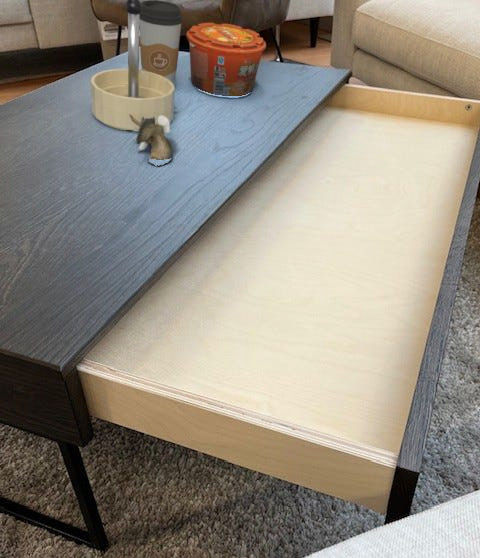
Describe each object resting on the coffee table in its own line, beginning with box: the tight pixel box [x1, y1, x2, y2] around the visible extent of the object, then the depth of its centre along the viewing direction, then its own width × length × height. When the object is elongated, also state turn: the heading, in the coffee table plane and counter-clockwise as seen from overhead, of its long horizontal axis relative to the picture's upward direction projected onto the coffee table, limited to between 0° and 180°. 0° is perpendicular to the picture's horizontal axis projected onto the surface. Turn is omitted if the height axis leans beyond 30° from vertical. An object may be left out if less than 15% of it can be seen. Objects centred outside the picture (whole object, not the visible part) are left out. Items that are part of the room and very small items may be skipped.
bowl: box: [90, 68, 176, 131], centre depth 110 cm, size 14×14×6 cm
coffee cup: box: [139, 0, 183, 85], centre depth 120 cm, size 8×8×15 cm
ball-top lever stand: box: [123, 0, 145, 98], centre depth 105 cm, size 5×5×19 cm
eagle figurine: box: [129, 115, 174, 160], centre depth 100 cm, size 8×7×9 cm
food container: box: [186, 22, 267, 96], centre depth 126 cm, size 16×16×11 cm
